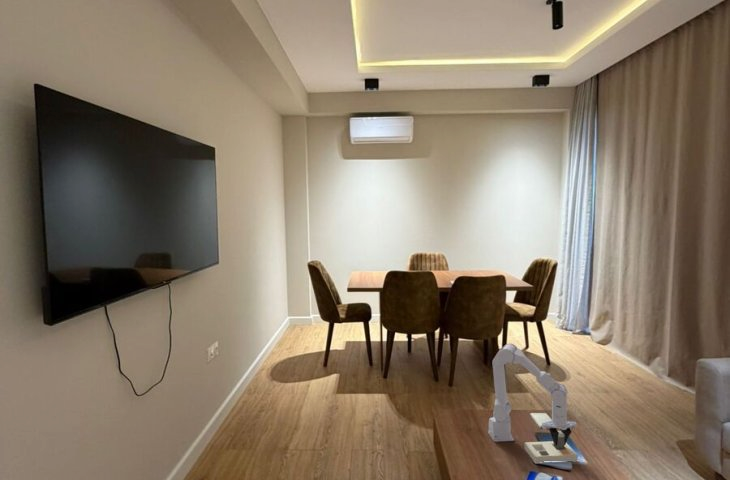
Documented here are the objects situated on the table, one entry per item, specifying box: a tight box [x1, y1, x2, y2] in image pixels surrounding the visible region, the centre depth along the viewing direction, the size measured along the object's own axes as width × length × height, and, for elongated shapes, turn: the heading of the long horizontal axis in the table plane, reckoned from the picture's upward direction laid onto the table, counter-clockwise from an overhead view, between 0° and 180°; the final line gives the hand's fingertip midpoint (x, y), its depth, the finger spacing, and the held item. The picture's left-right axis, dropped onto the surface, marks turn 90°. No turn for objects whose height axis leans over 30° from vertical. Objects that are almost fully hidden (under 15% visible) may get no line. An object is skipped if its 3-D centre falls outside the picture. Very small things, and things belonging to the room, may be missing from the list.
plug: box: [554, 430, 565, 450], centre depth 163 cm, size 3×3×8 cm
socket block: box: [524, 440, 579, 464], centre depth 162 cm, size 18×10×3 cm, turn 92°
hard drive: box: [530, 412, 552, 429], centre depth 189 cm, size 2×8×12 cm
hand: (559, 443), depth 163 cm, fingers closed on plug, 3 cm apart
